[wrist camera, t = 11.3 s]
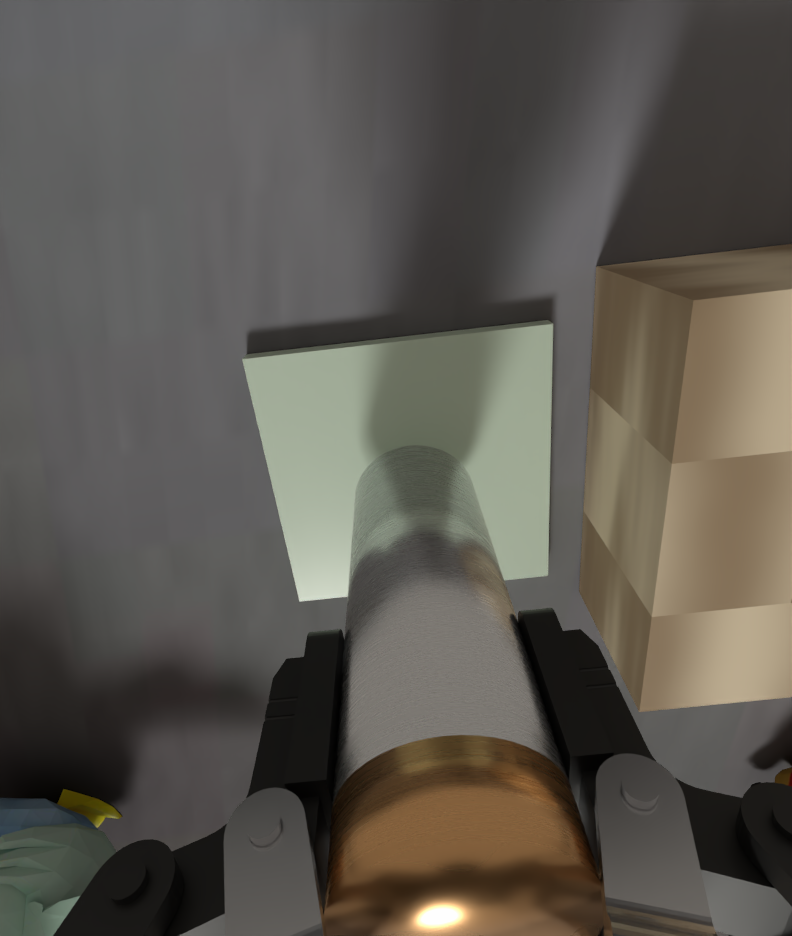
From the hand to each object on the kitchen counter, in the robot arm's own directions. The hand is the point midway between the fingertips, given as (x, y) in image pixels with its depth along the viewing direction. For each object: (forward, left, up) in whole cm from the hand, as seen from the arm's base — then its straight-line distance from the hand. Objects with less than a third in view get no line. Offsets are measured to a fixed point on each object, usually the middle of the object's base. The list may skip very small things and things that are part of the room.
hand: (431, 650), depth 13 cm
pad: (0, 0, -9) cm, 9 cm away
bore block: (-13, 0, -9) cm, 16 cm away
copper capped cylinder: (0, 0, -7) cm, 7 cm away
